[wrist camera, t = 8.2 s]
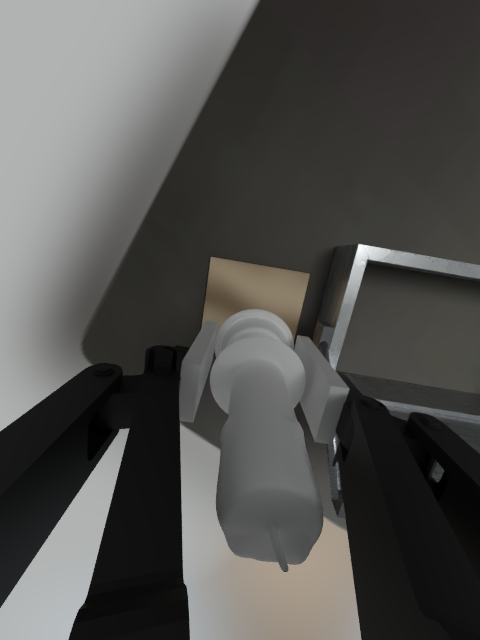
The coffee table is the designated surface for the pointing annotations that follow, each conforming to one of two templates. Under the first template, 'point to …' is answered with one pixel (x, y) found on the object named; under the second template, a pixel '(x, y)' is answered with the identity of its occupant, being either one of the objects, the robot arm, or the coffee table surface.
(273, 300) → the mat
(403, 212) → the coffee table surface
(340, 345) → the case
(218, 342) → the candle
